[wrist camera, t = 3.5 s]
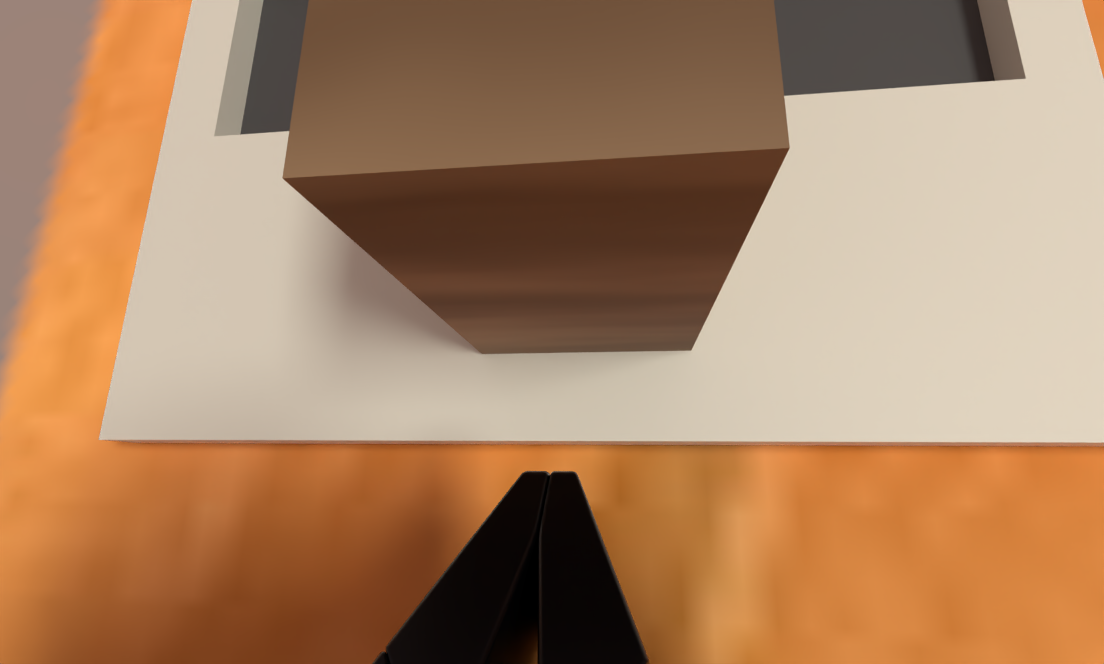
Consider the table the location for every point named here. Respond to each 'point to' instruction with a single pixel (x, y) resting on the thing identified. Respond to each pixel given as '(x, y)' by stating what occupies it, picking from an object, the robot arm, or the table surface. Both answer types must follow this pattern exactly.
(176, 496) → the table surface
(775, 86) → the brown wooden block
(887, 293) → the trap board
